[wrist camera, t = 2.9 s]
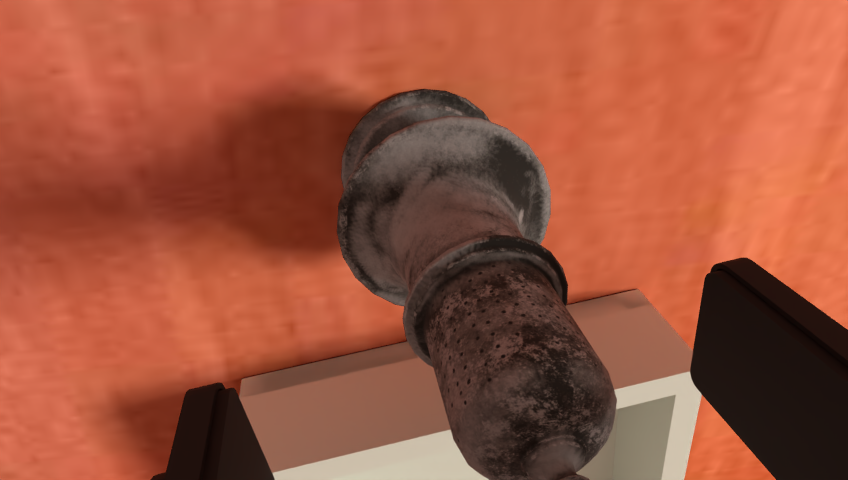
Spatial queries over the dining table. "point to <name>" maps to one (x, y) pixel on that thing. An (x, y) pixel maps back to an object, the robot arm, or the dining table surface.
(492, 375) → the salt shaker
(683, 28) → the dining table surface
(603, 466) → the tray
